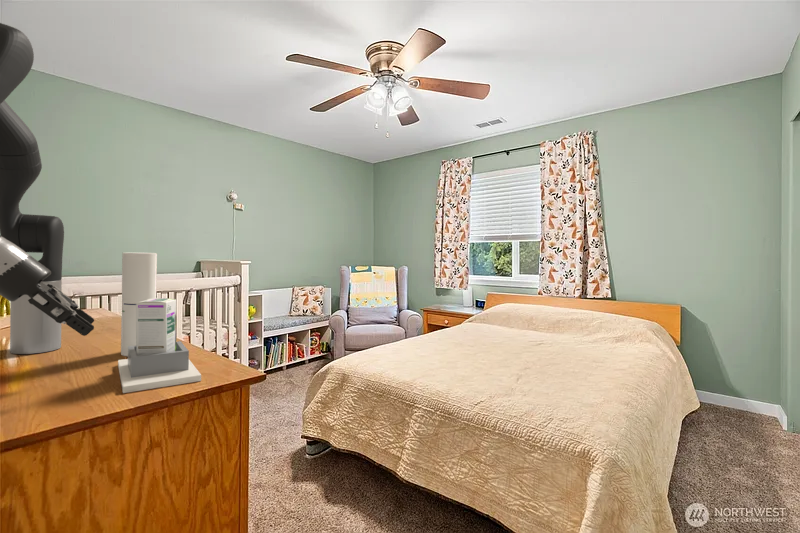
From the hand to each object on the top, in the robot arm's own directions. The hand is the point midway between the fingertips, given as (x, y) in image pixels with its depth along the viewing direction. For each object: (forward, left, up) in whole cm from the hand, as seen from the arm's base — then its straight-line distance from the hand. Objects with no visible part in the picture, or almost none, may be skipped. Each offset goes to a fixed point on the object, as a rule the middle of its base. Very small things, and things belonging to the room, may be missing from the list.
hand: (90, 327), depth 75 cm
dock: (0, +11, -11) cm, 16 cm away
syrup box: (0, +11, -10) cm, 15 cm away
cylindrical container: (-20, +9, -11) cm, 25 cm away
